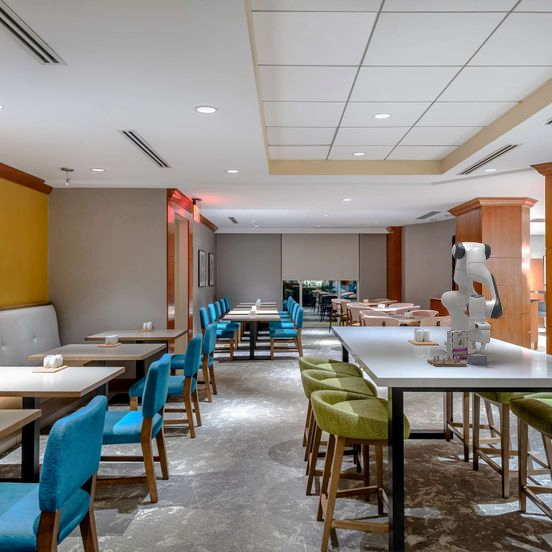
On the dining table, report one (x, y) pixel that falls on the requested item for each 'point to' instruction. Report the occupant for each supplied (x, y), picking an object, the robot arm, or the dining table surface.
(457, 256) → the robot arm
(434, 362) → the pin tray
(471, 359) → the block
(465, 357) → the candy bar box
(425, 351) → the dining table surface
